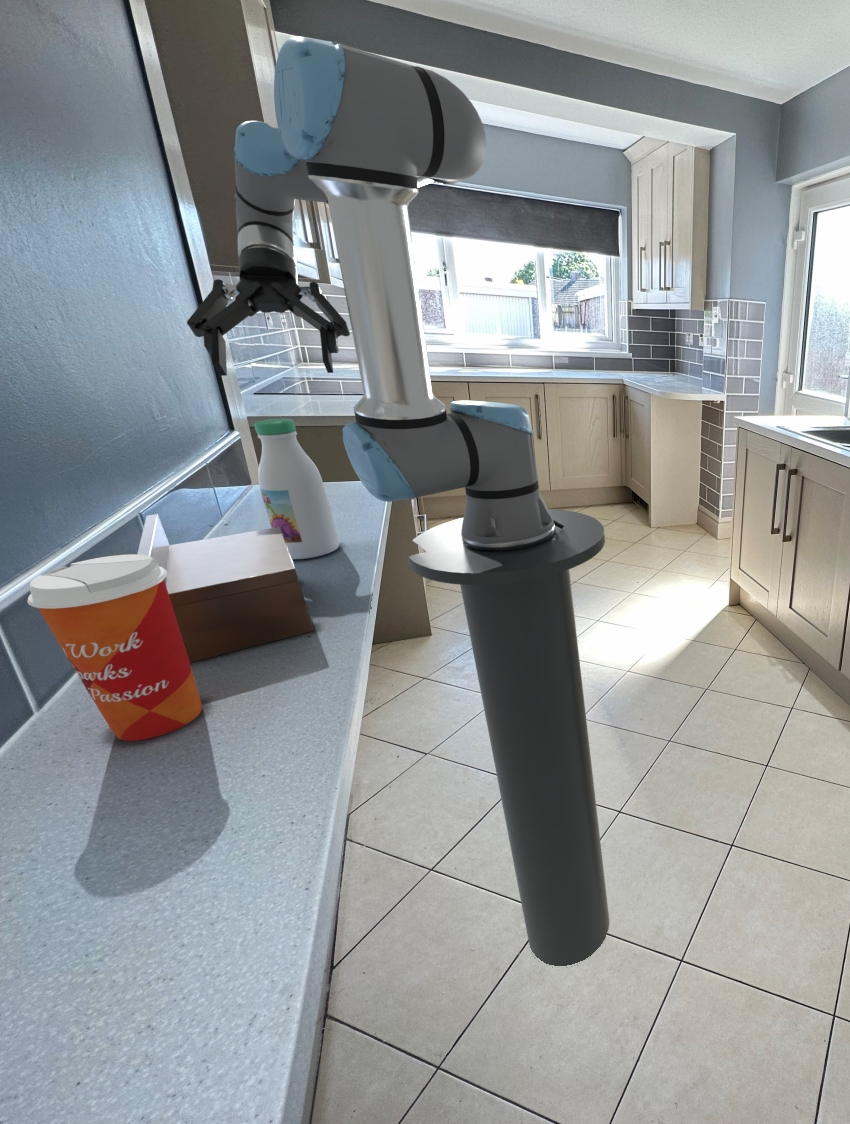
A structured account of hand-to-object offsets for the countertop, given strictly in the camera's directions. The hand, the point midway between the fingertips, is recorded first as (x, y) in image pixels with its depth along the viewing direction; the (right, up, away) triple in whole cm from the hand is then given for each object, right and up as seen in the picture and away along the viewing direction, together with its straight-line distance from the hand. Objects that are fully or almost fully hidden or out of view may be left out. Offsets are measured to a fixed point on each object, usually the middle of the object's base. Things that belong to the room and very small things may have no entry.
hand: (275, 368), depth 93 cm
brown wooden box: (+11, -36, -19) cm, 43 cm away
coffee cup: (+19, -44, -37) cm, 61 cm away
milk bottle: (+5, -28, +1) cm, 28 cm away
